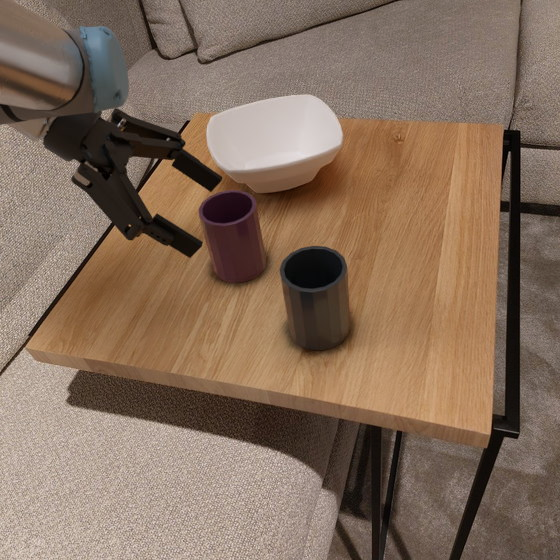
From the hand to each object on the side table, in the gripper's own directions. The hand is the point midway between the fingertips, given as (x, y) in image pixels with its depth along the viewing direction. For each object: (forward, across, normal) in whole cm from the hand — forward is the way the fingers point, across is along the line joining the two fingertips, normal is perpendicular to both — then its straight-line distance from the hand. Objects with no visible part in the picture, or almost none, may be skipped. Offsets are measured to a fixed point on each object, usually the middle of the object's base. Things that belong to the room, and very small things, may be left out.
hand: (207, 215), depth 76 cm
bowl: (+11, +21, +2) cm, 24 cm away
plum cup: (+8, 0, +4) cm, 9 cm away
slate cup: (+16, -12, -4) cm, 21 cm away
